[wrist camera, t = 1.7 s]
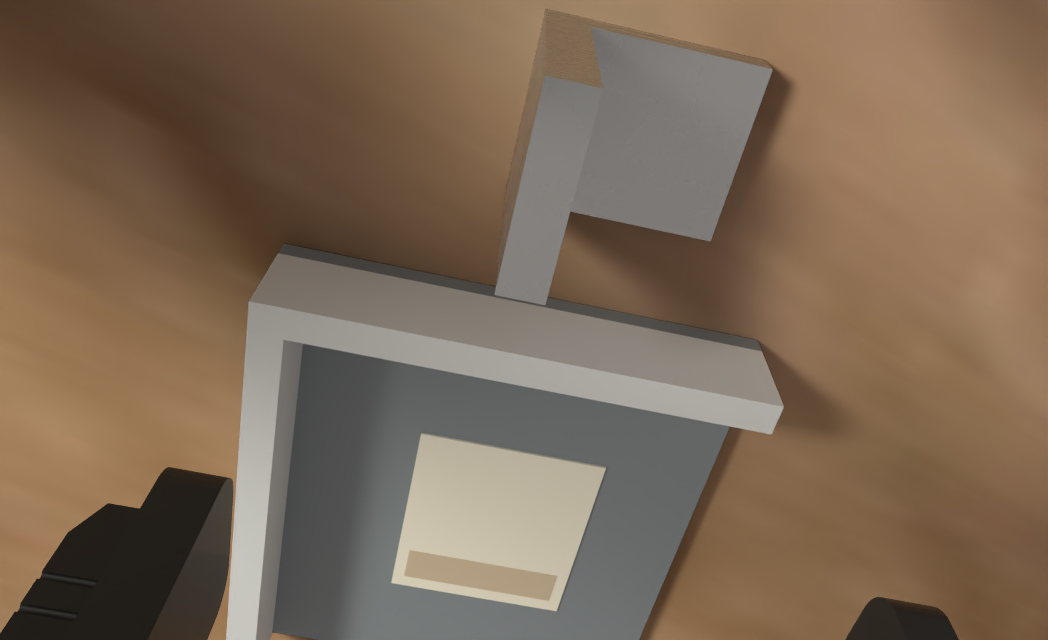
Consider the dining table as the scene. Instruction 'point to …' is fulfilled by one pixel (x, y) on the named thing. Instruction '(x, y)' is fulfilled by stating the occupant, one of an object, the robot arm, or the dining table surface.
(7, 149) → the dining table surface
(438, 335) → the corner arena
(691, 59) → the angle bracket
